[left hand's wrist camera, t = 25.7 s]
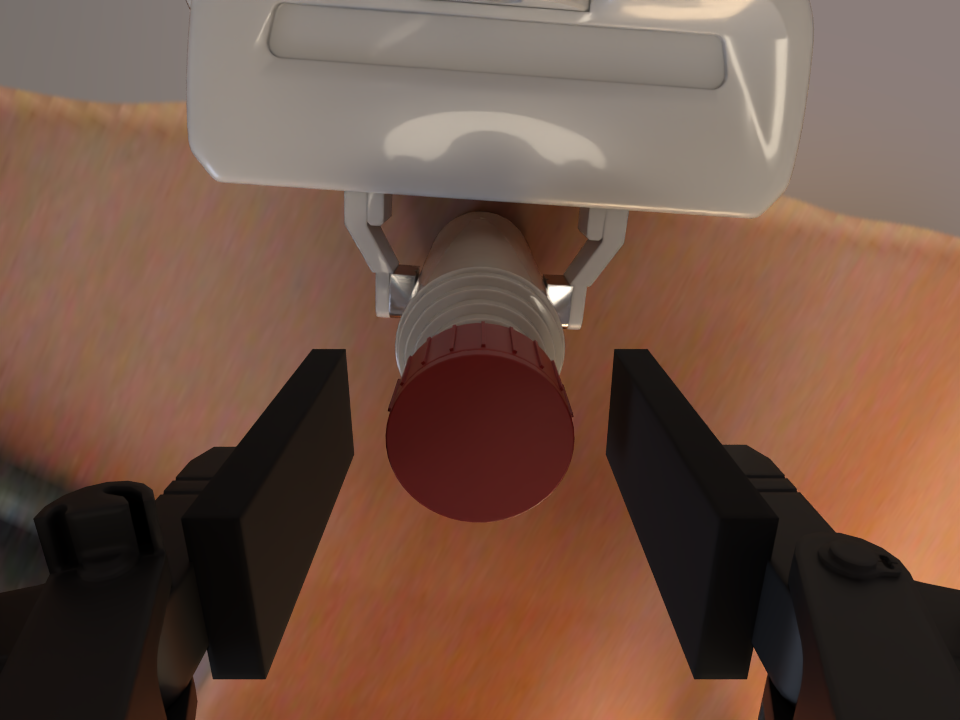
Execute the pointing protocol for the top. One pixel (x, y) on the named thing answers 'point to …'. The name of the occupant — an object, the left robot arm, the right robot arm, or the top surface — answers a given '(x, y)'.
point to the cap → (480, 424)
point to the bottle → (480, 287)
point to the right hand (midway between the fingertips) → (479, 319)
